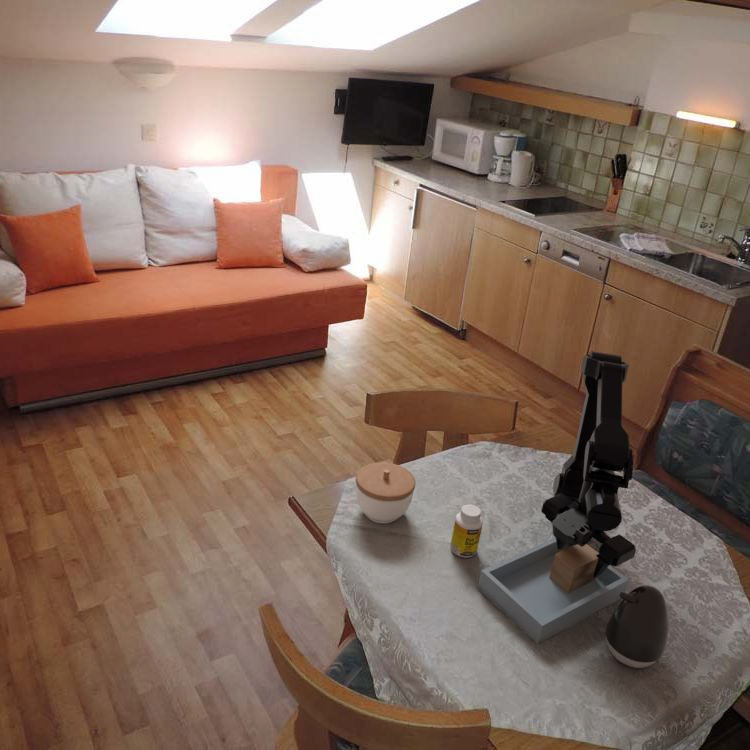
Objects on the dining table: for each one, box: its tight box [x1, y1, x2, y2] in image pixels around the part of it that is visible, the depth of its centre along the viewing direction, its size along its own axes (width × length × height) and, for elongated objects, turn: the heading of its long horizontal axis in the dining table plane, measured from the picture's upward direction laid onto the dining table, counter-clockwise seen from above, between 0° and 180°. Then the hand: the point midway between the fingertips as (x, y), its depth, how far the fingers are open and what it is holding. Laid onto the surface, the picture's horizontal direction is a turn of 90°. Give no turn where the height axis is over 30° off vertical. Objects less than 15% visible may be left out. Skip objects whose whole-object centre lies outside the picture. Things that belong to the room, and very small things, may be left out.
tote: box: [477, 536, 630, 645], centre depth 146 cm, size 24×16×4 cm, turn 125°
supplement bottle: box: [450, 504, 484, 559], centre depth 153 cm, size 6×6×10 cm
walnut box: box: [549, 543, 599, 593], centre depth 148 cm, size 8×5×6 cm, turn 125°
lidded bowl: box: [355, 461, 416, 524], centre depth 162 cm, size 13×13×11 cm
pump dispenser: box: [604, 584, 670, 669], centre depth 131 cm, size 10×10×15 cm
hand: (577, 562), depth 148 cm, fingers open, 9 cm apart
